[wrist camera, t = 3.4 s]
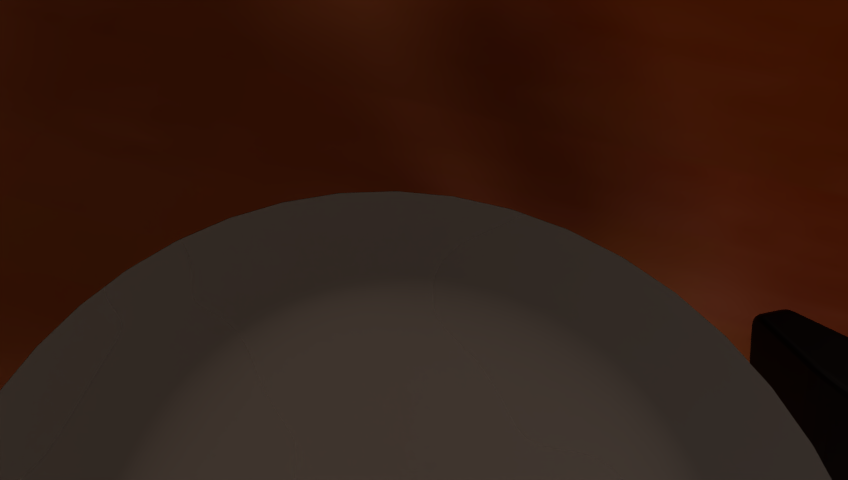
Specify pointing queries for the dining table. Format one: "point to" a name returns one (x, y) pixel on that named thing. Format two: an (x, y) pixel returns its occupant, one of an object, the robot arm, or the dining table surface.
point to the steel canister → (392, 360)
